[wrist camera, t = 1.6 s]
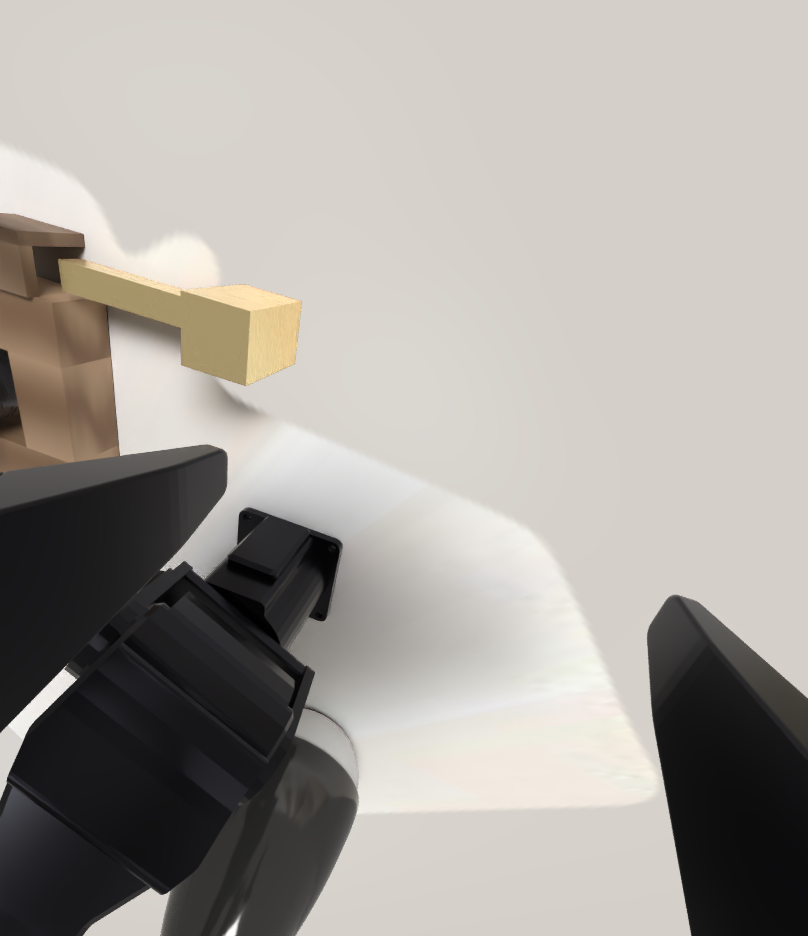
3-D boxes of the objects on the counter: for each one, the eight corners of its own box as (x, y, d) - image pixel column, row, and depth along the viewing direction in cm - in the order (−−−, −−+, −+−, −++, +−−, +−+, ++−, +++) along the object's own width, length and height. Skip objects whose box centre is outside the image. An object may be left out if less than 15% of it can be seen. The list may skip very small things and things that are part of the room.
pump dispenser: (318, 787, 38) (205, 1069, 25) (232, 708, 37) (61, 966, 23) (403, 759, 34) (320, 1088, 20) (309, 667, 32) (150, 961, 19)
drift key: (294, 363, 22) (246, 386, 18) (102, 303, 23) (20, 313, 20) (301, 301, 21) (250, 311, 17) (97, 241, 22) (7, 238, 18)
